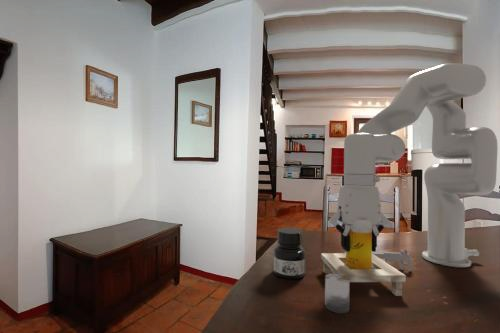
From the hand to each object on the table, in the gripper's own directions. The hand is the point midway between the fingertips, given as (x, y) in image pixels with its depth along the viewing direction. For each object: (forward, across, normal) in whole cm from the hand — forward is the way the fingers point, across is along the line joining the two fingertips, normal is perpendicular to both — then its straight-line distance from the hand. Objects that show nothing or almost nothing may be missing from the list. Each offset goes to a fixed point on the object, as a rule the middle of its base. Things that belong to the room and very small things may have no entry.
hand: (358, 249), depth 65 cm
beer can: (+7, 0, 0) cm, 7 cm away
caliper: (+9, -12, -14) cm, 21 cm away
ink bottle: (+9, +17, -6) cm, 20 cm away
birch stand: (+9, 0, 0) cm, 9 cm away
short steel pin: (+9, +10, +11) cm, 17 cm away
